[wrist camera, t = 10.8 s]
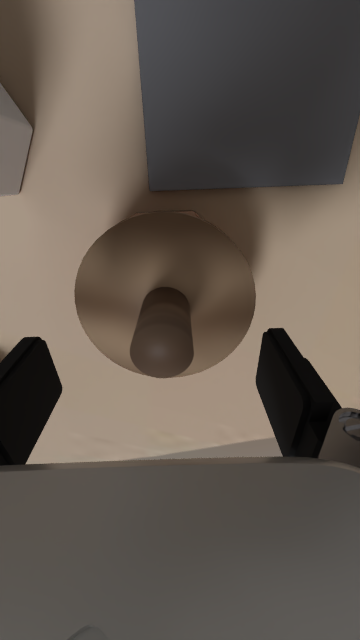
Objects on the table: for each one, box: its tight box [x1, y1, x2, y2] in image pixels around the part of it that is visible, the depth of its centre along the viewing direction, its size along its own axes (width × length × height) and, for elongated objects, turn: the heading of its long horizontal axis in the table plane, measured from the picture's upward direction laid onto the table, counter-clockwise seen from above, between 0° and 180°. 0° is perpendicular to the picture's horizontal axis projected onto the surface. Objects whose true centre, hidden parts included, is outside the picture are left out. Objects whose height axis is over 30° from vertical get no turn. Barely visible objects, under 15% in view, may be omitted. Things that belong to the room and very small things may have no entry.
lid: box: [75, 211, 256, 378], centre depth 15 cm, size 12×12×6 cm
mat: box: [134, 0, 360, 191], centre depth 15 cm, size 14×14×1 cm
